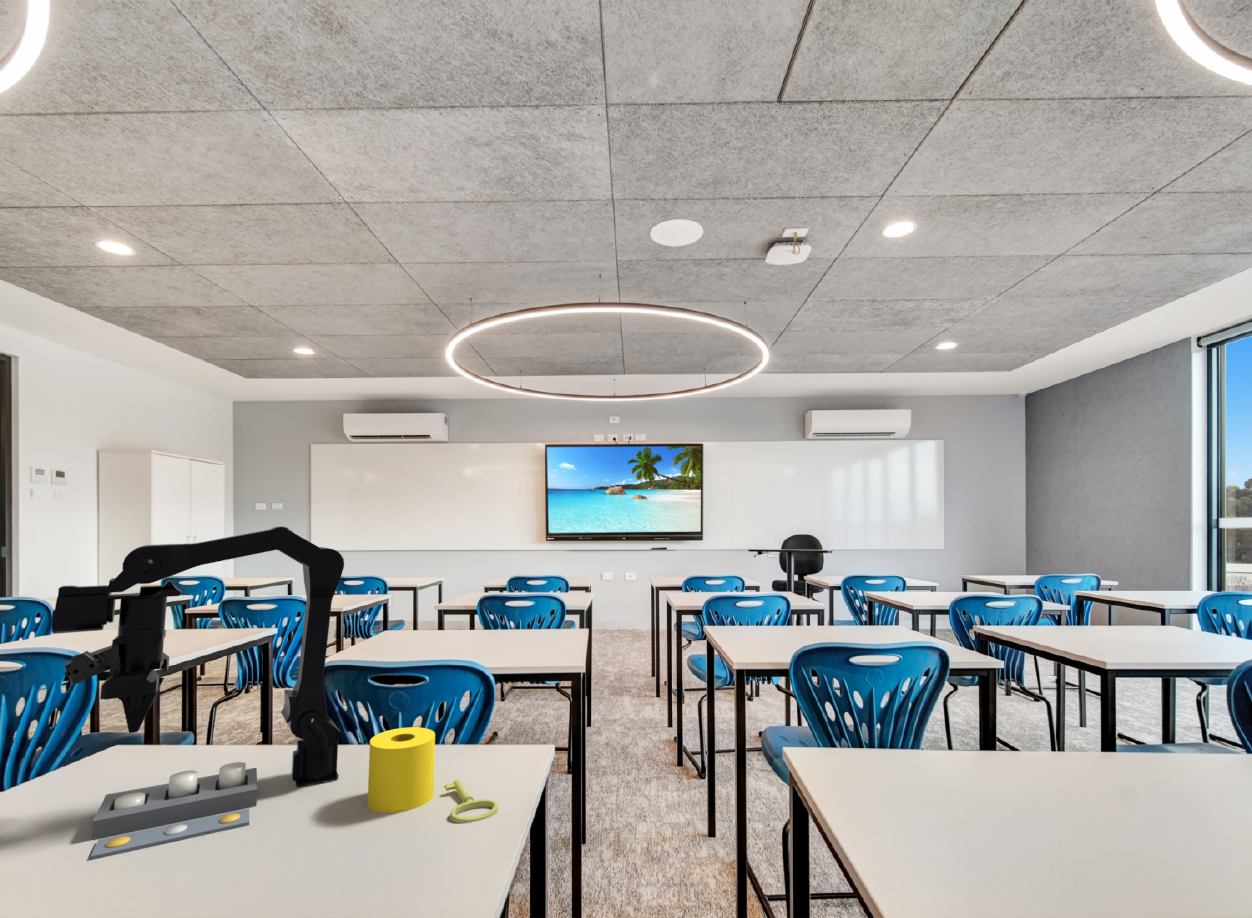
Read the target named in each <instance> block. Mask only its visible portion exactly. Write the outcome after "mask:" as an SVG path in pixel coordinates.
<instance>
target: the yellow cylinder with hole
mask: <svg viewBox="0 0 1252 918" xmlns="http://www.w3.org/2000/svg"><path fill="white" fill-rule="evenodd" d="M435 748H436V733H435V731H434V730H432V729H429V728H425V727H417V726H416V727H414V726H413V727H411V726H410V727H409V726H408V727H399V728H394V729H389V730H386V731H383V732H380V733H378V734H375V735H374V736H373V737H371V739H370V740H369V755H368V756H369V757H368V759H369V760H368V782H367V787H368V788H367V807H369V809H371V810H372V811H375V812H378V813H388V814H392V813H395V814H396V813H401V812H409V811H411V810H415V809H417V808H420V807H423V806H425V805H426V804H427V803H429V802H430V801H431V800H432V799H433V797H434V792H435V791H434V790H435V789H434V785H435V784H434V783H435V755H436V754H435V752H436V749H435Z"/></svg>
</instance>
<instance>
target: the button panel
mask: <svg viewBox="0 0 1252 918" xmlns="http://www.w3.org/2000/svg"><path fill="white" fill-rule="evenodd" d="M218 786H219V773H218V774H214V775H213V774H212V775H207V776H203V777H197V791H196V794H195V795H190V796H185V797H180V798H174V799H168V792H169V782H168V783H164V784H157V785H153V786H147V787H142V788H134V789H129V790H124V791H119V792H113V793H108V794H106V795H105V796H104V798H103V801H102V802H101V804H100V806H99V807H98V809H97V812H96V814H95V816H94V817H93V820H92V823H91V824H92V825H91V826H92V827H91V838H90V839H91V841H93V840H99V839H104V838H109V837H114V836H119V835H124V834H128V833H133V832H138V831H143V830H148V829H152V828H157V827H162V826H167V825H172V824H177V823H181V822H186V821H191V820H196V819H201V818H206V817H210V816H215V815H220V814H225V813H230V812H234V811H239V810H244V809H249V808H253V807H256V806H257V803H258V768H257V767H253V768H252V767H251V768H247V769H245V784H244V785H243V786H237V787H232V788H227V789H222V790H219V789H218ZM131 793H145V804H143V805H138V806H132V807H127V808H122V809H117V810H114V803H115V800H116V799H117V798H119V797H121V796H123V795H127V794H131Z"/></svg>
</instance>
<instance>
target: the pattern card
mask: <svg viewBox="0 0 1252 918" xmlns="http://www.w3.org/2000/svg"><path fill="white" fill-rule="evenodd" d="M249 825H250V808H243V809H238V810H234V811H229V812H224V813H219V814H214V815H209V816H205V817H200V818H195V819H190V820H185V821H180V822H176V823H171V824H166V825H161V826H156V827H152V828H147V829H142V830H137V831H132V832H128V833H123V834H118V835H113V836H108V837H104V838H99V839H97V841H96V844H95V846H94V849H93V850H92V852H91V855H90V860H95V859H100V858H103V857H107V856H114V855H117V854H122V853H126V852H131V851H132V852H133V851H135V850H136V851H137V850H140V849H144V848H149V847H150V848H151V847H154V846H157V845H162V844H167V843H173V842H177V841H180V840H185V839H190V838H194V837H199V836H203V835H204V836H205V835H208V834H213V833H214V834H215V833H216V832H217V833H218V832H222V831H227V830H231V829H235V828H236V829H237V828H240V827H245V826H249Z"/></svg>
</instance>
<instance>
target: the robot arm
mask: <svg viewBox="0 0 1252 918" xmlns="http://www.w3.org/2000/svg"><path fill="white" fill-rule="evenodd" d="M272 551H279V552H280V553H282V554H284V555H286V556H287V557H289V558H290V559H291V560H294V561H295V562H297V563H299V564H300V565H302V574H303V582H304V583H303V584H304V589H305V596H306V601H305V602H306V604H305V613H304V620H303V628H302V639H301V645H300V646H301V647H300V656H299V665H298V673H297V679H296V682H295V684H294V687H293V688H292V689H284V690H283V692H284V693H283V694H284V695H283V697H284V705H283V708H282V710H281V711H280V714H281V715H282V717H283V719H284V721H285V722H286V724H287V726H288V728H289V730H290V731H291V733H292V734H293V736H294V737H295V738H298V739H299V740H297V741H296V750H293V751H292V761H291V779H292V781H293V782H295V787H296V788H301V787H306V786H309V785H314V784H321V783H326V782H330V781H336V780H338V779H339V776H340V775H339V773H338V754H339V739H340V737H341V734H342V732H341V730H340V729H339V728H338V726H337V725H336V724H335V722H334V721H333V719H331V718H330V717H329V715H328V706H327V697H326V696H327V694H326V691H325V685H324V677H325V669H326V666H325V665H326V658H327V648H328V640H329V630H330V622H331V621H330V620H331V613H332V611H331V610H332V602H333V599H334V597H335V595H336V591H337V590H338V587H339V585H340V581H341V579H342V578H341V577H342V575H343V571H344V569H345V568H344V567H345V560H344V557H343V556H342V554H341V553H340V552H339V551H338V550H336V549H334V548H328V547H323V546H322V547H321V546H318V545H316V544H314V543H312V542H310V541H309V540H307V539H305V538H304V537H301V536H300V535H298V534H297V533H294V532H293V531H292V529H290V528H289V527H287V526H286V527H285V526H274V527H272V528H269V529H265V530H259V531H254V532H249V533H245V534H238V535H233V536H226V537H223V538H222V537H221V538H216V539H212V540H204V541H200V542H195V543H166V544H162V543H161V544H147V545H145V544H144V545H142V546H139V547H136V548H134V549H133V550H131V551H130V552H129V553H128V554H127V555H126V556H125V557H124V560H123V561H122V571H121V572H120V573H119V574H118V575H117V576H116V577H115V578H114V577H113V578H110V579H109V582H108V583H109V584H108V585H107V584H106V585H83V586H82V585H81V586H79V585H62V586H60V587H58V592H57V593H58V594H57V597H56V601H55V606H54V610H52V614H51V633H52V634H53V635H57V634H69V633H82V632H83V633H84V632H95V631H96V632H97V631H104V628H105V626H106V625H107V624H108V623H109V624H111V623H114V619H115V614H116V611H115V610H116V600H120V601H119V602H120V605H119V613H118V614H119V617H118V629H117V635H116V637H115V638H114V639H112V643H111V645H108V646H105V647H103V648H100V649H97V650H94V651H91V652H90V651H88V650H85V651H84V652H81V653H79V654H74V655H73V656H72V657H71V659H70V660H69V661H67V662H66V663H64V665H63V666H64V668H65V671H64V676H65V677H67V678H68V679H69V682H70V684H71V686H73V685H77V684H80V683H82V682H83V681H85V680H86V679H88V678H92V677H94V676H97V675H100V674H102V673H104V672H107V671H108V675H111V676H110V677H108V678H107V679H106V680H104V682H103V683H102V685H101V686H100V687H101V688H100V698H99V699H100V700H113V699H118V700H119V701H121V704H122V708H123V712H124V715H125V720H126V726H127V730H128V733H130V734H133V733H134V734H135V733H138V732H139V730H140V728H141V727H142V725H143V723H144V720H145V718H146V716H147V714H148V712H149V710H150V708H151V706H152V704H153V702H154V700H155V699H156V696H157V694H158V693H159V690H160V688H161V685H162V684H163V682H164V679H165V678H164V677H160V674H159V673H158V672H157V671H155V670H162V673H165V672H168V670H169V667H170V656H169V655H167V654H166V653H165V652H164V645H165V643H164V641H165V638H166V634H167V629H166V618H167V617H166V614H167V602H168V598H169V597H180V596H181V595H182V590H181V589H180V588H178V587H177V586H176V585H175V584H174V582H173V581H172V580H168V581H167V582H166V583H165V584H164V585H151V586H147V585H148V584H152V583H156V582H158V581H161V580H164V579H167V578H169V577H172V576H175V575H178V574H180V573H183V572H185V571H188V570H191V569H193V568H196V567H199V566H203V565H208V564H213V563H218V562H222V561H223V562H224V561H228V560H233V559H234V560H235V559H237V558H243V557H248V556H252V555H257V554H263V553H267V552H272ZM138 584H140V585H146V586H140V588H139V592H134V593H124V592H125V591H128V590H129V589H131V588H132V587H135V586H136V585H138ZM112 593H113V594H112ZM114 593H115V594H114Z"/></svg>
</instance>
